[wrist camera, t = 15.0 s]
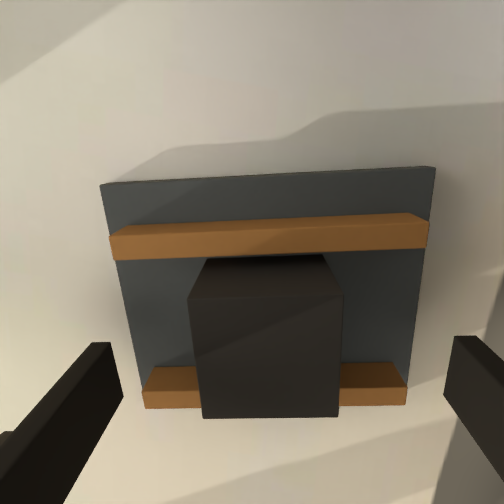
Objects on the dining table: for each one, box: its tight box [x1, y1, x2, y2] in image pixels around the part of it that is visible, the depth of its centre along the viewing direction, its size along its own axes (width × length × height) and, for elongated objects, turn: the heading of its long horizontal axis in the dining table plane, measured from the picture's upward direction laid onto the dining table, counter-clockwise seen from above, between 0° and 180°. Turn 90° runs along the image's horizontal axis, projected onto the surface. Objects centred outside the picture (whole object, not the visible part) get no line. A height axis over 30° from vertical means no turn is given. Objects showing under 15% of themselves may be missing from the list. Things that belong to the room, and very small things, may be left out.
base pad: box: [100, 166, 436, 409], centre depth 16 cm, size 16×14×3 cm
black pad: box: [187, 254, 344, 419], centre depth 15 cm, size 6×6×4 cm
